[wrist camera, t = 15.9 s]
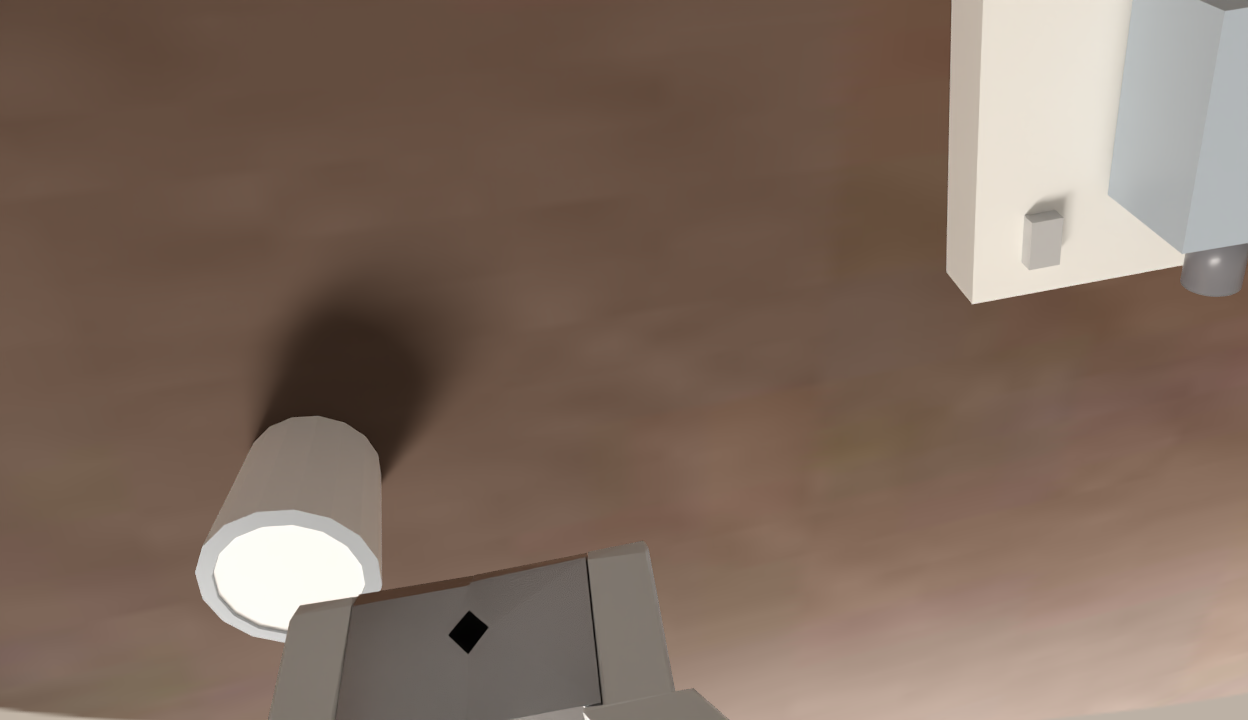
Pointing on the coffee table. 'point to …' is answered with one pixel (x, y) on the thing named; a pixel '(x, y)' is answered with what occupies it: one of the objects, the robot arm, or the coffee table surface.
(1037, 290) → the socket plate
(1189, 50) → the plug
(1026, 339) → the coffee table surface
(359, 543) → the shot glass
